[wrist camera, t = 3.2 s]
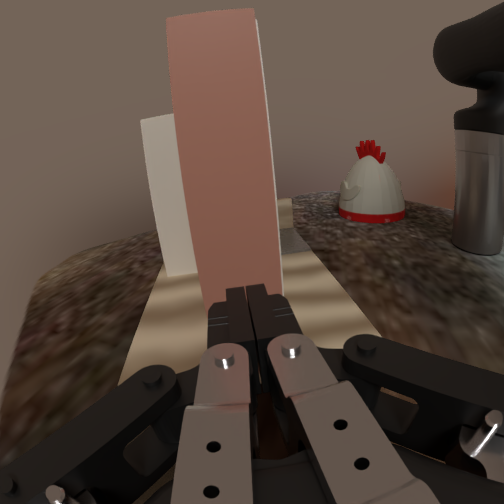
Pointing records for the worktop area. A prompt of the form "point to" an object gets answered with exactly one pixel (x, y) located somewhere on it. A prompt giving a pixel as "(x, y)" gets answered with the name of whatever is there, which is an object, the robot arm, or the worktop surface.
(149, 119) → the cream book
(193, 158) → the terracotta book
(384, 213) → the kitchen timer
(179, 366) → the rack
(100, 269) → the worktop surface
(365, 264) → the worktop surface
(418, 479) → the robot arm
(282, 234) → the bookend
